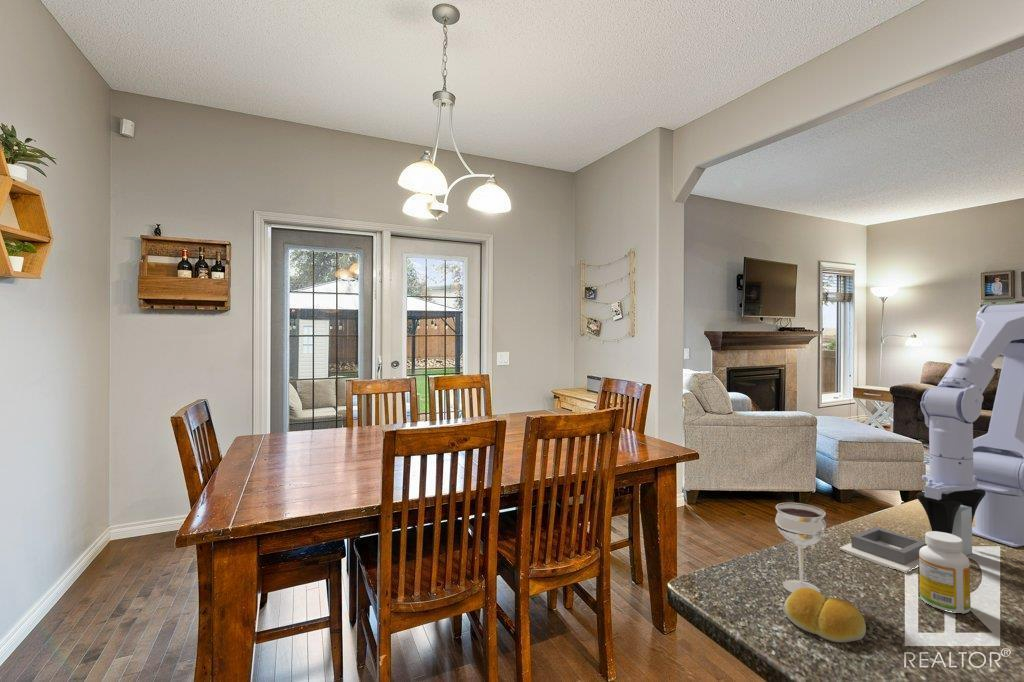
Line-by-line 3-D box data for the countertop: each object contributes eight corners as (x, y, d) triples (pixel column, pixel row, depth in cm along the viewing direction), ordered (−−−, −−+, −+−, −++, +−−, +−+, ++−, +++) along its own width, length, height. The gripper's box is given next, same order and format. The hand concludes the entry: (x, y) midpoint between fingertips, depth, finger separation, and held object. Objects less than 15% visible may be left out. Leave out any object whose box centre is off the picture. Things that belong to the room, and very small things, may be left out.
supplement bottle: (950, 594, 71) (949, 529, 71) (981, 616, 66) (980, 544, 66) (910, 593, 72) (909, 528, 72) (938, 614, 67) (937, 544, 67)
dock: (875, 536, 92) (874, 522, 92) (940, 556, 83) (940, 542, 83) (839, 550, 87) (839, 536, 87) (905, 573, 78) (905, 558, 78)
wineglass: (800, 603, 70) (799, 520, 70) (766, 580, 77) (764, 504, 77) (839, 596, 72) (837, 515, 72) (802, 574, 78) (800, 500, 78)
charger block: (943, 544, 88) (942, 500, 88) (972, 553, 85) (971, 507, 84) (933, 549, 86) (932, 504, 86) (961, 558, 83) (961, 511, 83)
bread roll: (857, 654, 59) (856, 622, 59) (778, 623, 66) (777, 594, 66) (873, 626, 65) (873, 596, 65) (799, 600, 71) (798, 573, 71)
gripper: (941, 446, 92) (942, 517, 92) (903, 456, 85) (904, 533, 85) (991, 453, 86) (992, 530, 86) (954, 465, 79) (955, 548, 79)
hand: (951, 532), depth 85 cm, fingers open, 7 cm apart
